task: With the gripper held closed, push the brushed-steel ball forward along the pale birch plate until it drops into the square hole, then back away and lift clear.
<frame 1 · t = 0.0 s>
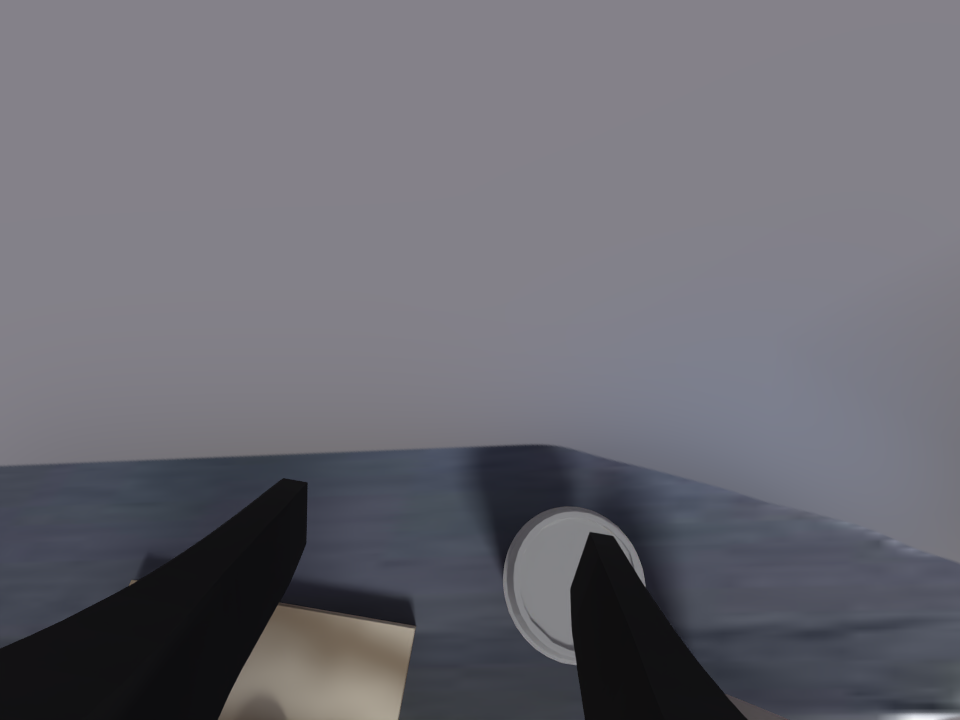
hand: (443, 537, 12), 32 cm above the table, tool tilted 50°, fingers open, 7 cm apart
disposable coffee cup: (542, 580, 42), on the table
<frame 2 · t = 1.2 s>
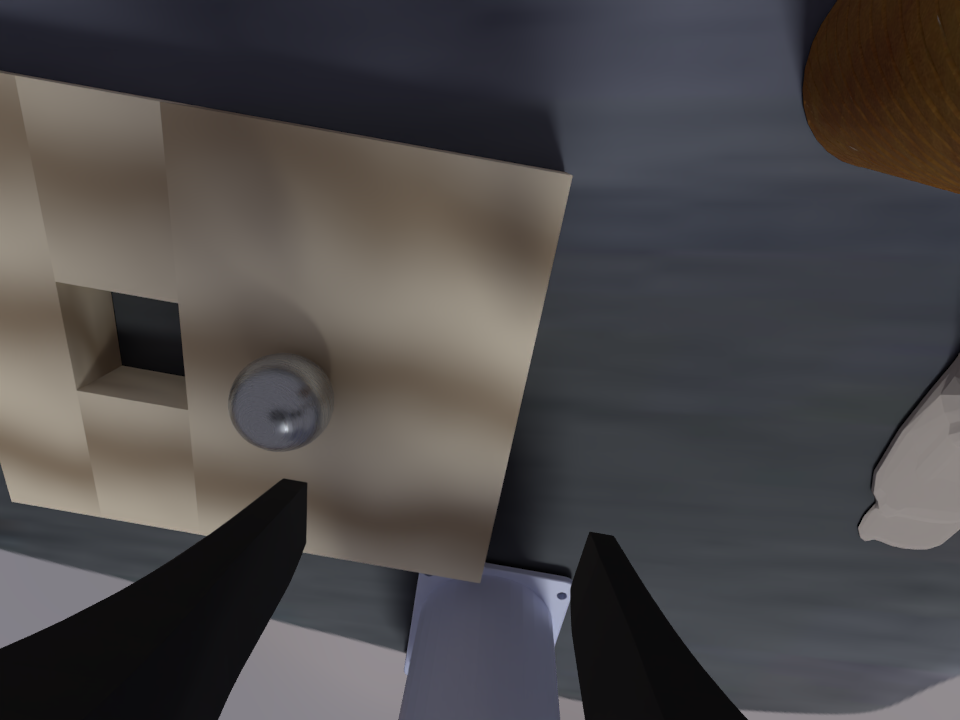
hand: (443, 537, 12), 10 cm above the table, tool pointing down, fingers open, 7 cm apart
disposable coffee cup: (901, 64, 16), on the table
steel ball: (283, 401, 17), point 4 cm above the table, touching birch plate
birch plate: (269, 345, 21), on the table
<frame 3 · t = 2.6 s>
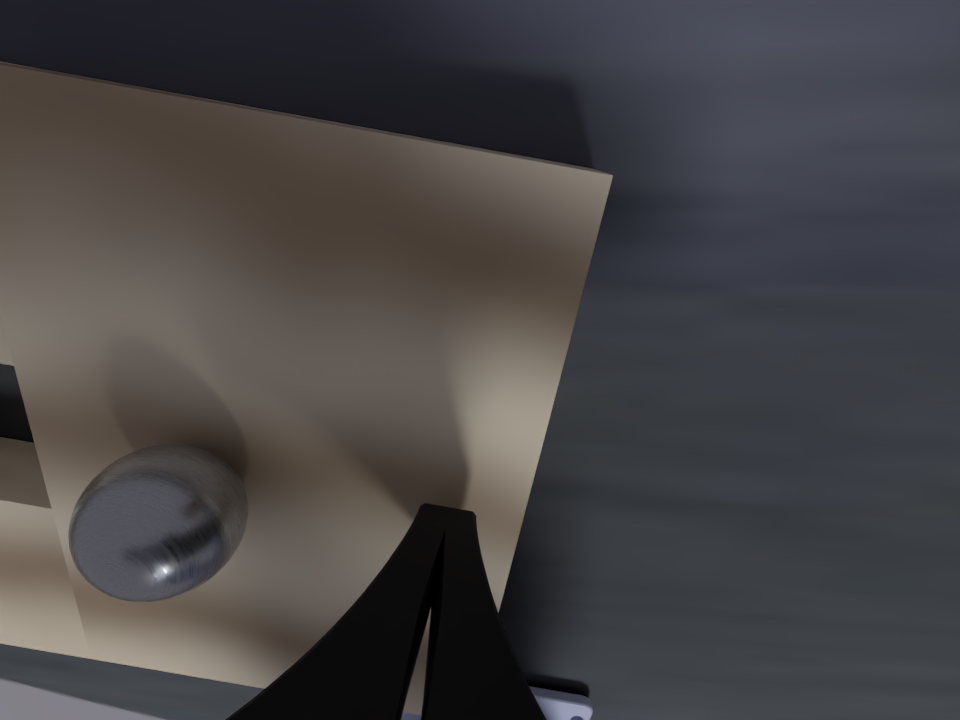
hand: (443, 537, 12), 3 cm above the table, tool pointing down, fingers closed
steel ball: (165, 519, 11), point 4 cm above the table, touching birch plate
birch plate: (175, 409, 15), on the table
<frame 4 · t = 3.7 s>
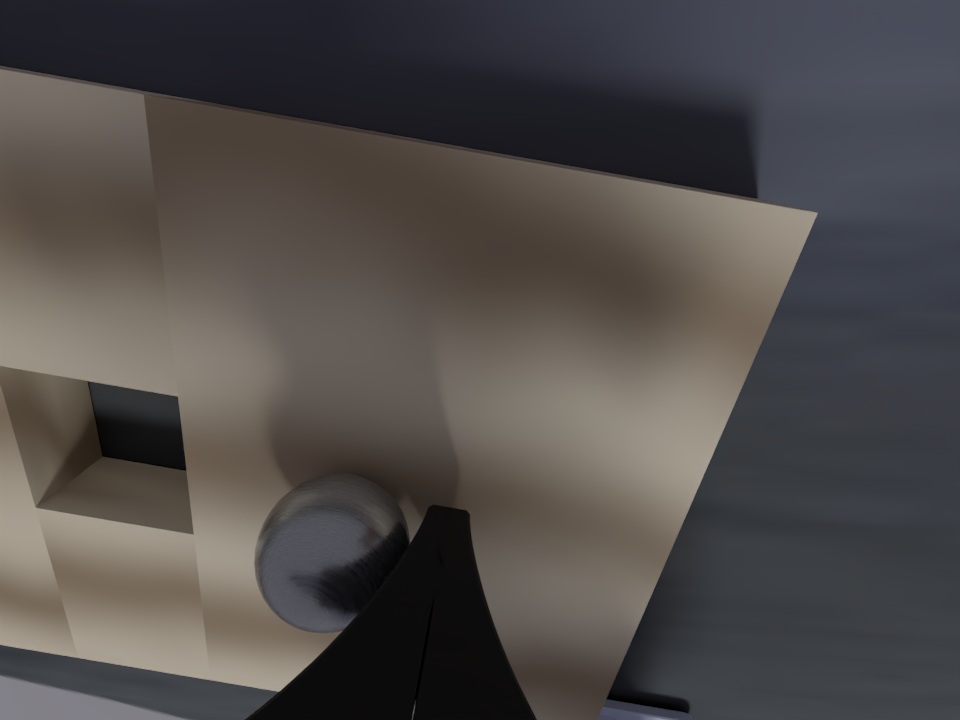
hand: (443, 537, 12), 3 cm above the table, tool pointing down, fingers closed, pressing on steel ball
steel ball: (335, 548, 12), point 4 cm above the table, touching birch plate, gripper
birch plate: (304, 433, 15), on the table
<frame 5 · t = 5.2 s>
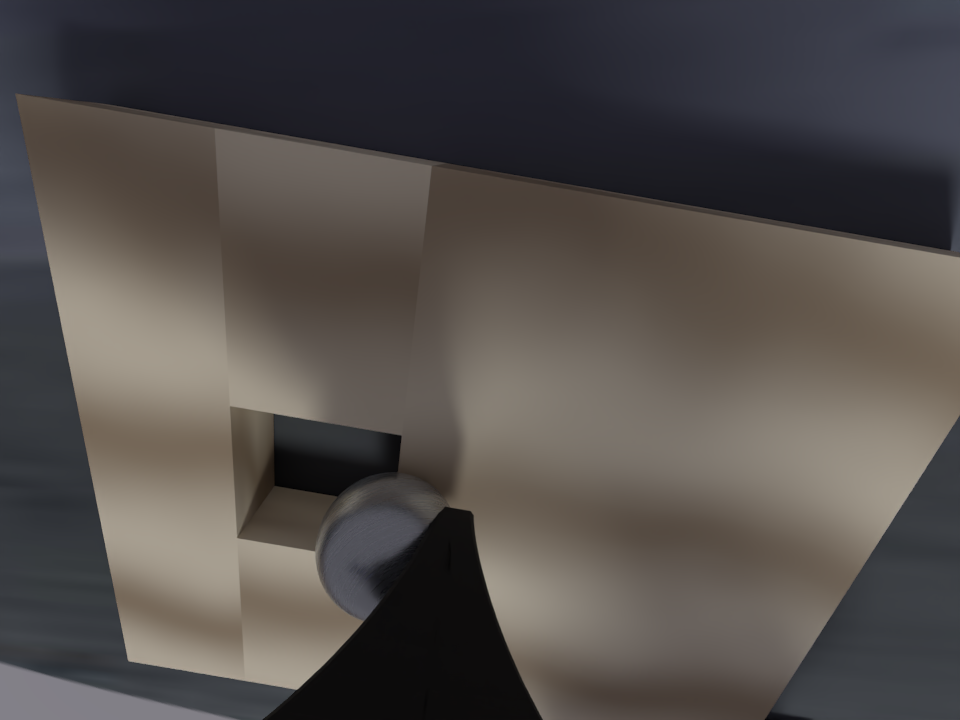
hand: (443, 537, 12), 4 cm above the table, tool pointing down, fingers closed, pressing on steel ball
steel ball: (389, 544, 12), point 4 cm above the table, tilted 148°, touching birch plate, gripper
birch plate: (477, 464, 16), on the table
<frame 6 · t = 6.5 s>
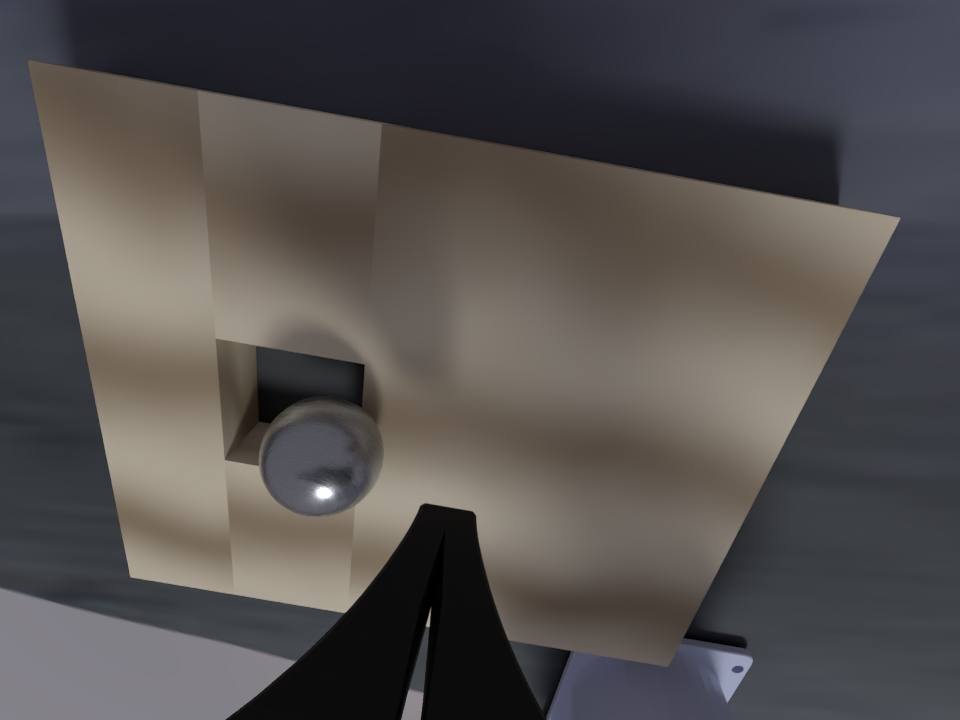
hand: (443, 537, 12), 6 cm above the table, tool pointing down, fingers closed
steel ball: (323, 455, 14), point 4 cm above the table, tilted 167°
birch plate: (437, 400, 18), on the table
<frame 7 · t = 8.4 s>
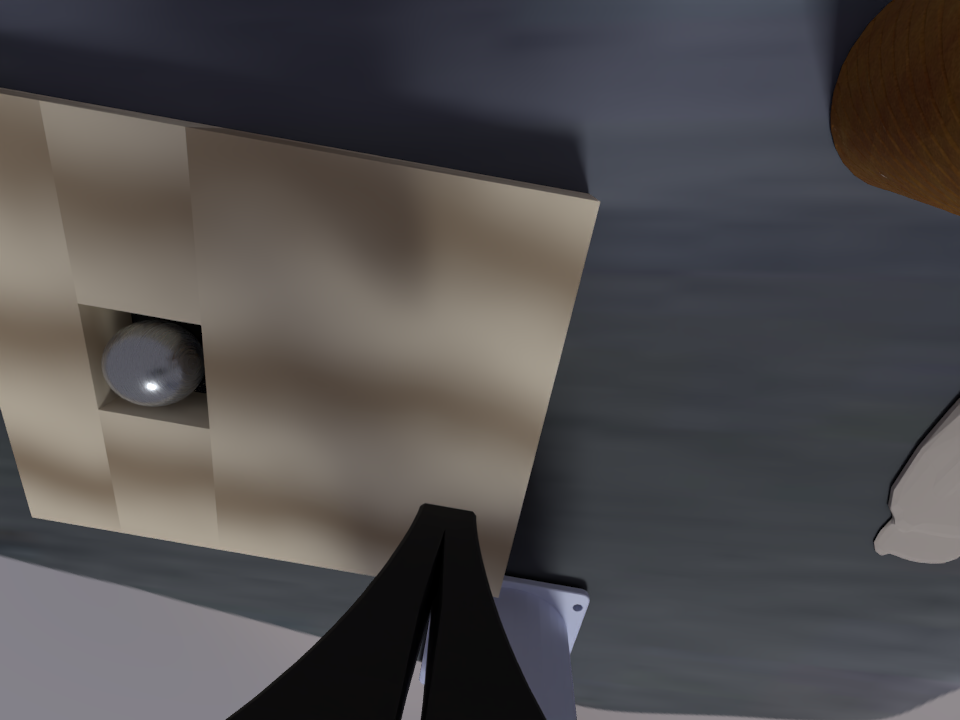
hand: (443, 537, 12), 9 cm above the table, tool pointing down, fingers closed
disposable coffee cup: (930, 87, 16), on the table
steel ball: (156, 363, 20), point 2 cm above the table, tilted 82°
birch plate: (288, 363, 21), on the table
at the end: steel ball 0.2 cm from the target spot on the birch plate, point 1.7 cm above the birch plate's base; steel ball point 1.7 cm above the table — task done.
